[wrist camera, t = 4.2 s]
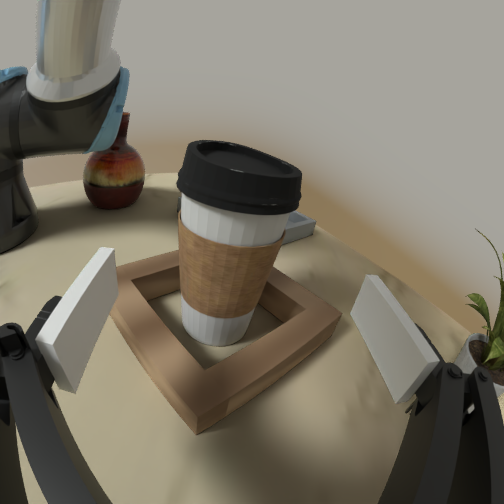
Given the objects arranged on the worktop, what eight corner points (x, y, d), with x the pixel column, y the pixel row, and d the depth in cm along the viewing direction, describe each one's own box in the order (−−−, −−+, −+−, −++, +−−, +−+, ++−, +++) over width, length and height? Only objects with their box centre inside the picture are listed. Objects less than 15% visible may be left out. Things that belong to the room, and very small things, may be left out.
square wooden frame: (100, 297, 24) (96, 272, 22) (225, 258, 35) (228, 236, 33) (196, 434, 15) (197, 416, 13) (331, 335, 26) (342, 313, 24)
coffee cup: (210, 282, 30) (234, 138, 22) (277, 322, 26) (326, 167, 19) (149, 318, 23) (154, 141, 16) (222, 376, 20) (267, 177, 12)
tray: (177, 211, 44) (178, 197, 43) (247, 200, 55) (249, 188, 54) (242, 258, 35) (245, 240, 34) (312, 234, 46) (316, 221, 45)
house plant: (361, 399, 19) (472, 215, 11) (417, 331, 28) (481, 205, 20) (469, 481, 10) (617, 337, 3) (496, 392, 19) (577, 275, 11)
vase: (153, 195, 49) (160, 112, 42) (126, 218, 39) (131, 115, 32) (104, 188, 49) (108, 111, 41) (72, 208, 39) (72, 115, 32)
